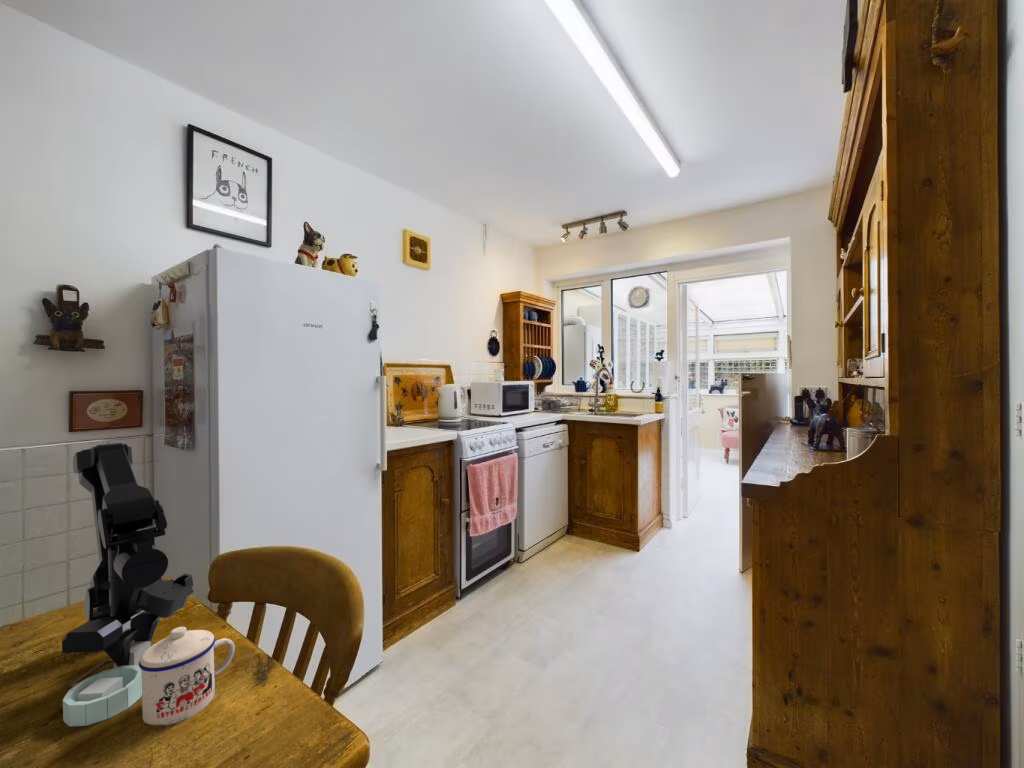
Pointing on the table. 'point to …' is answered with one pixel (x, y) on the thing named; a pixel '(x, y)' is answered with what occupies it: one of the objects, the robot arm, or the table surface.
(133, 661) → the grey cube
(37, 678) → the table surface
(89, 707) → the bowl
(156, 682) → the teacup with lid
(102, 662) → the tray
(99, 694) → the light grey cube
